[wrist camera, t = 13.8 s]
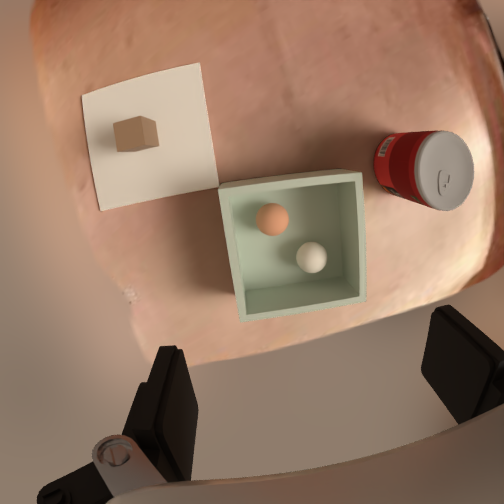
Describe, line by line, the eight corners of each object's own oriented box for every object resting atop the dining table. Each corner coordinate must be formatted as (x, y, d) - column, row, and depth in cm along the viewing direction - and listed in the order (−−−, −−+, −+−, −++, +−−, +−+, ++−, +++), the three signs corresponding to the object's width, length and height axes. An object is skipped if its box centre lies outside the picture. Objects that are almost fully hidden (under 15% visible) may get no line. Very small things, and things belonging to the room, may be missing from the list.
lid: (85, 96, 32) (58, 88, 25) (200, 64, 32) (193, 46, 25) (103, 209, 37) (79, 221, 30) (219, 186, 37) (216, 193, 30)
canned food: (374, 198, 37) (420, 216, 27) (367, 135, 35) (412, 130, 24) (424, 192, 37) (476, 207, 27) (418, 132, 35) (471, 130, 24)
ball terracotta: (252, 203, 36) (254, 208, 32) (284, 198, 36) (289, 203, 32) (257, 233, 37) (259, 241, 34) (287, 229, 37) (293, 237, 34)
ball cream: (292, 240, 37) (297, 249, 34) (321, 236, 37) (330, 244, 34) (295, 268, 38) (300, 280, 35) (323, 264, 38) (331, 275, 35)
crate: (221, 183, 36) (217, 189, 29) (340, 168, 36) (361, 172, 29) (239, 294, 40) (240, 322, 33) (346, 278, 40) (366, 301, 33)
